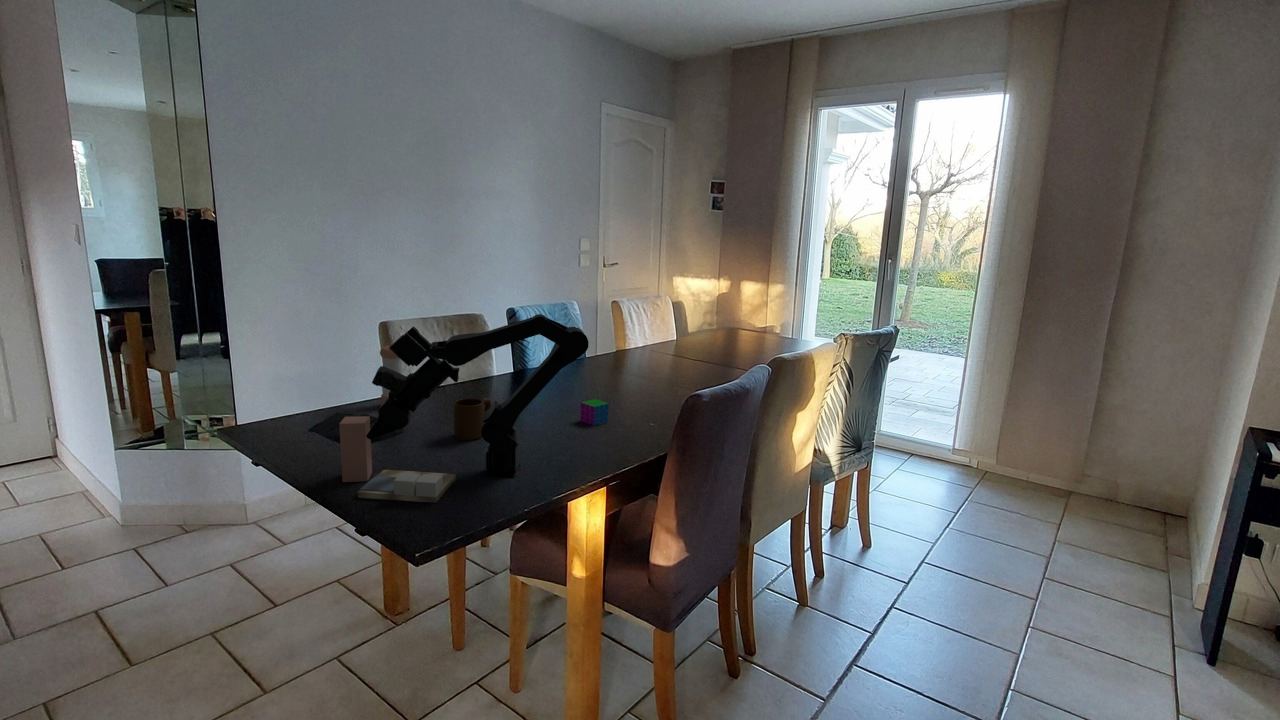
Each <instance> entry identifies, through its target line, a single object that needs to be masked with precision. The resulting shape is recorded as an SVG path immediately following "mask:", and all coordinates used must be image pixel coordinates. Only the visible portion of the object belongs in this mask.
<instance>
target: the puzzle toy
mask: <svg viewBox="0 0 1280 720" xmlns="http://www.w3.org/2000/svg"><path fill="white" fill-rule="evenodd" d="M609 406H610V405H609V403H608V402H605V401H602V400H598V399H596V398H594V399H591V400H585V401H582V402H580V415H579V416H580V422H581V421H582V423H584V422H585V424H587V423H589V424H588V425H590V424H592V425H591V426H593V425H595V426H598V425H601V424H600V423H603V422H606V423H608V422H609ZM607 421H608V422H607ZM597 424H598V425H597ZM603 424H604V423H603Z"/></svg>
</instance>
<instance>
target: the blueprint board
mask: <svg viewBox="0 0 1280 720" xmlns="http://www.w3.org/2000/svg"><path fill="white" fill-rule="evenodd" d="M401 473H412V474H421V476H422V475H423V474H429V475H443V489H442V491H441V492H440V493H439V494H438V495H437V496H436V497H426V496H416V494H415V495H414V496H411V495H395V494H394V480H395V479H396V478H397V477H398V476H399V475H400V474H401ZM456 480H457V474H456V473H442V472H439V473H438V472H430V471H429V472H428V471H427V472H425V471H414V470H413V471H412V470H409V471H408V470H397V469H396V470H394V469H383V470H382V471H381V472H380V473H378V474H377V475H375V476H373V478H371V479H369V480H368V481H367V483H365V484H364V485H363V486H362V487H361V488H360V489H359V490H358V491H357V498H360V499H371V500H372V499H374V500H388V501H390V500H391V501H405V502H421V503H437V502H438V501H439V500H440V499H441V497H443V495H444V494H445V493H446V492H447V490H448V489H449V488H450V487H451V486H452V485H453V483H454V482H455V481H456Z"/></svg>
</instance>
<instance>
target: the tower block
mask: <svg viewBox="0 0 1280 720" xmlns="http://www.w3.org/2000/svg"><path fill="white" fill-rule="evenodd" d="M370 416H371V415H370ZM370 416H356V417H344V419H343V420H342V421H341V422H340V424H339V427H340V442H339V443H340V461H341V477H342V479H341V480H342V481H341V482H342V483H351V482H352V483H355V482H356V483H357V482H358V483H359V482H369V481H370V478H371V475H372V474H373V461H372V459H373V457H372V443H371V439H368V438H367V437H366V435H367V434H368V432H369V431H370Z"/></svg>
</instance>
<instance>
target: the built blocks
mask: <svg viewBox="0 0 1280 720" xmlns="http://www.w3.org/2000/svg"><path fill="white" fill-rule="evenodd" d="M442 489H443V475H429V474H423V475H422V476H421V474H412V473H401V474H400V475H399V476H398V477H397V478H396V479H395V480H394V494H395V495H411V496H414V495H415V494H416V496H426V497H436V496H437V495H438V494H439V493H440V492H441V491H442Z"/></svg>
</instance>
